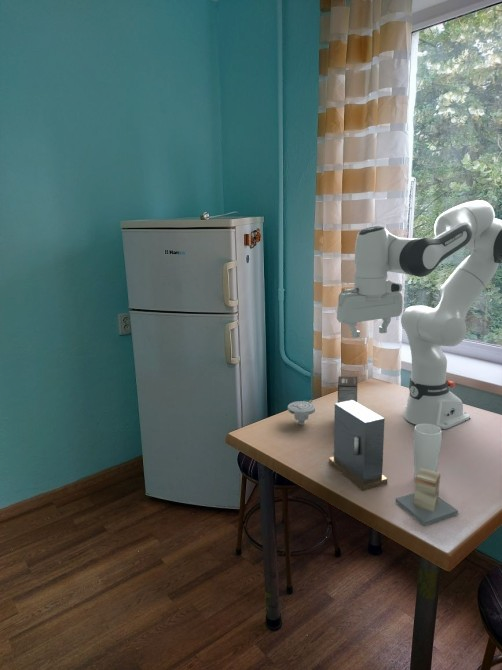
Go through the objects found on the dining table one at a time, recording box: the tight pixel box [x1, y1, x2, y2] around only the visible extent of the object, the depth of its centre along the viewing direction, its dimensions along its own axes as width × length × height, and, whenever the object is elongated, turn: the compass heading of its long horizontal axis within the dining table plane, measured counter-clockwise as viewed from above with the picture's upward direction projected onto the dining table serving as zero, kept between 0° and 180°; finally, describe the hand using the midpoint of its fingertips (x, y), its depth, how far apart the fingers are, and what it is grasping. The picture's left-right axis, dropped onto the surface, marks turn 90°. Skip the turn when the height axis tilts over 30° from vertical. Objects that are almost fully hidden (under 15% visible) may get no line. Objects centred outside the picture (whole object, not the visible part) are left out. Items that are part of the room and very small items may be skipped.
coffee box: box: [337, 376, 358, 403], centre depth 156 cm, size 9×6×16 cm
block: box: [414, 468, 441, 512], centre depth 110 cm, size 5×5×8 cm
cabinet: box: [328, 400, 388, 492], centre depth 125 cm, size 8×16×18 cm, turn 23°
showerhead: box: [287, 399, 316, 425], centre depth 159 cm, size 9×7×10 cm
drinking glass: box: [413, 424, 443, 479], centre depth 121 cm, size 7×7×15 cm
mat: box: [395, 492, 459, 526], centre depth 111 cm, size 10×10×1 cm
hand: (369, 335), depth 131 cm, fingers open, 8 cm apart
